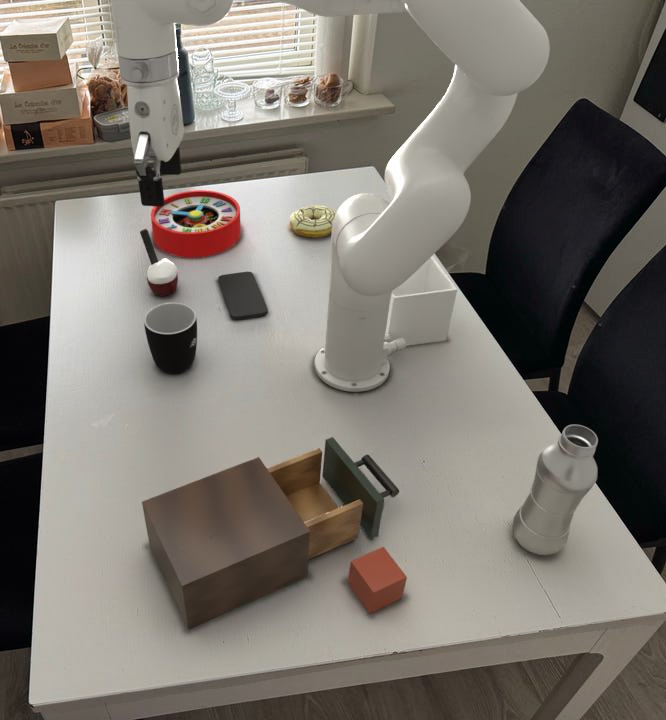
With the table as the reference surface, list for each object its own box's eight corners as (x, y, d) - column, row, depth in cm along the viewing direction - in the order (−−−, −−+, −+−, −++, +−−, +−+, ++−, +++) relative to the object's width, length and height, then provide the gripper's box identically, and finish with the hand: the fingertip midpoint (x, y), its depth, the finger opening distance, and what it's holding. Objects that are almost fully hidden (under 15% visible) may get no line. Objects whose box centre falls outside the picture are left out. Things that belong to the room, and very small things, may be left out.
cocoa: (183, 300, 137) (178, 248, 130) (152, 305, 137) (145, 253, 129) (173, 274, 145) (168, 224, 137) (144, 280, 144) (137, 229, 136)
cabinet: (259, 502, 98) (258, 456, 92) (307, 576, 89) (310, 531, 82) (149, 546, 94) (141, 501, 88) (188, 629, 84) (181, 586, 78)
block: (379, 567, 89) (383, 546, 86) (402, 598, 86) (407, 577, 83) (347, 582, 88) (350, 561, 85) (369, 613, 84) (373, 592, 81)
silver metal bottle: (548, 517, 93) (594, 412, 80) (571, 560, 88) (624, 456, 75) (500, 520, 93) (539, 416, 80) (520, 564, 88) (565, 460, 75)
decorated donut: (289, 217, 160) (289, 202, 157) (336, 216, 158) (337, 202, 156) (289, 240, 152) (290, 225, 149) (339, 240, 151) (340, 224, 148)
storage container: (446, 340, 123) (457, 289, 115) (386, 348, 122) (393, 297, 115) (397, 265, 142) (404, 218, 134) (344, 272, 141) (349, 225, 134)
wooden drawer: (356, 462, 101) (361, 425, 96) (407, 523, 93) (416, 486, 88) (233, 512, 96) (231, 475, 91) (274, 582, 87) (275, 545, 82)
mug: (199, 379, 119) (195, 333, 113) (148, 380, 120) (141, 334, 113) (201, 336, 128) (197, 291, 122) (153, 337, 129) (147, 293, 122)
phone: (252, 270, 142) (269, 311, 131) (252, 273, 143) (269, 315, 131) (216, 275, 142) (231, 317, 130) (217, 279, 142) (231, 321, 131)
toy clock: (226, 238, 143) (137, 228, 149) (227, 262, 147) (140, 252, 152) (250, 194, 157) (167, 187, 163) (250, 217, 161) (170, 209, 167)
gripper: (159, 90, 80) (172, 220, 92) (192, 44, 93) (200, 163, 104) (99, 89, 82) (119, 217, 93) (139, 44, 95) (153, 162, 106)
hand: (162, 188), depth 99 cm, fingers open, 9 cm apart
